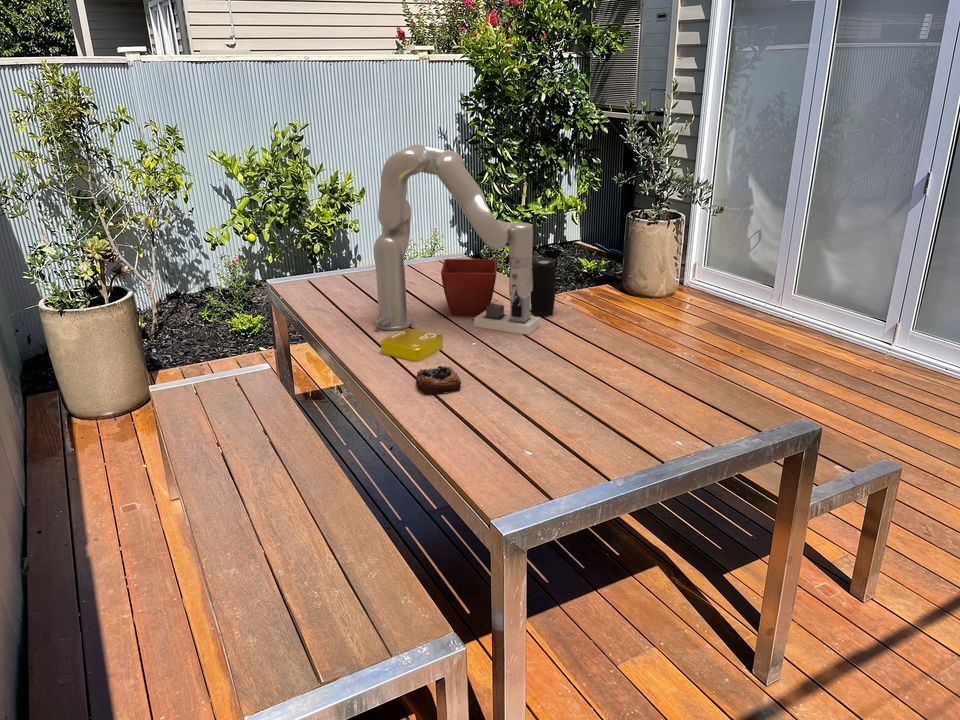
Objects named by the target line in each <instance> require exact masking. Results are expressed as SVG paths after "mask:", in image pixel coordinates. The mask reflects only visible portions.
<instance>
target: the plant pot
mask: <svg viewBox="0 0 960 720" xmlns="http://www.w3.org/2000/svg"><path fill="white" fill-rule="evenodd" d="M440 275H441V276H440V277H441V281H442V282H441V283H442V289H443V292H444V296H445V299H446V300H445V301H446V304H447V307H448V309H449V312H450V315H451V316H454V317H455V316H466V317H467V316H468V317H469V316H470V317H471V316H472V317H477V316H478V315H480V314H481V313H483V312H484V311H486V307H487V306H488V305H490V304H492V300H493V297H494V291H495V285H496V279H497V260H496V259H489V258H488V259H486V258H485V259H484V258H483V259H482V258H479V259H478V258H477V259H476V258H474V259H473V258H446V259H444V260H443V264H442V268H441V272H440Z"/></svg>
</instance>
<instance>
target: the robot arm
mask: <svg viewBox="0 0 960 720" xmlns="http://www.w3.org/2000/svg"><path fill="white" fill-rule="evenodd" d="M421 173H424V174H428V175H434V176H436V177H437V178H438V179H439V180H440V182H441V183H442V184H443V186H444V187H445V188H446V190H447V191H448V192H449V193H450V195H451V196H452V198H453V199H454V201H456V203H457V204H458V206H459V208H461V210H462V213H463V214H464V216H465V217H466V219H467V220H468V222H469V224H470V225H471V227H472V228H473V230H474V232H476V234H477V235H478V237H479V238H480V239H481V241H482V242H483V244H485V246H486V247H488V248H489V249H490V250H495V251H497V250H498V251H499V250H501V249H503V248H504V247H506V245H507V244H508V247H509V248H508V252H509V253H508V263H509V264H508V267H510V268H509V269H510V271H509V282H508V283H509V284H508V285H509V287H508V288H509V289H508V293H509V296H510V297H509V301H510V300H511V302H512V316H513V317H521V311H522V306H520V305H521V298H524V297H525V296H527V295H528V294H529V293H531V292H532V290H533V276H532V266H533V239H534V238H533V234H534V232H533V231H534V229H533V225H532V224H531V223H529V222H523V221H521V222H508V221H503V220H502V221H500V220H497V219H496V217H495V216H494V215H493V212H492V211H491V209H490V208H489V206H488V204H487V201H486V198H485V194H484V192H483V190H482V189H481V187H480V186H479V184H477V182H476V180H475V179H474V178H473V177H472V175H471V174H470V172H469V171H468V170H467V168H466V167H465V163H464V159H463V158H462V156H461V155H460V154H459V153H458V152H456V151H453V150H447V149H442V148H438V147H437V148H436V147H432V146H428V145H427V146H426V145H422V144H413V145H409V146H407V147H406V148H404V149H401V150H399V151H397V152H395V153H392V155H390V156H389V157H388V158H387V160H386V161H385V163H384V165H383V167H382V171H381V176H380V177H381V178H380V187H379V188H380V189H379V198H378V199H379V201H378V211H377V218H378V221H379V223H380V225H381V226H382V229H381V234H380V235H379V236H378V237H377V238H376V240H375V242H374V245H373V259H374V265H375V273H376V274H375V275H376V288H377V304H378V315H377V317H378V318H377V319H376V320H374V321H373V322H372V326H373V327H374V328H375V327H376V328H377V329H380V330H385V331H398V330H400V331H401V330H403V329H406V328H409V327H410V326H412V322H413V321H412V319H411V318H410V317H408V314H407V313H408V312H407V311H408V310H407V290H406V288H407V287H406V284H407V283H406V269H405V262H404V261H405V260H404V254H405V252H407V249H408V247H409V244H410V233H411V222H412V208H411V204H410V203H409V201H408V200H407V193H408V180H409V179H410V178H411V177H412V176H416V175H417V174H421ZM516 294H517V295H518V296H516ZM516 298H518V300H517V299H516Z"/></svg>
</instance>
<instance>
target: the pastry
mask: <svg viewBox="0 0 960 720" xmlns="http://www.w3.org/2000/svg"><path fill="white" fill-rule="evenodd" d="M415 379H416V380H415V383H416V387H417V388H418V390H419V391H420V392H421V393H422V394H423V395H425V396H431V395H439V394H438V393H441V394H445V393H444V392H449V393H452V391H454V392H458V391H460V390H461V384H462V380H461V377H459V374H458V372H457V371H455V370H454V369H453V368H452V367H451V366H442V365H439V366H437V368H436V367H435V368H429V369H428V368H421V369H419V370H418V371H417V373H416V376H415ZM457 390H458V391H457Z"/></svg>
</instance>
